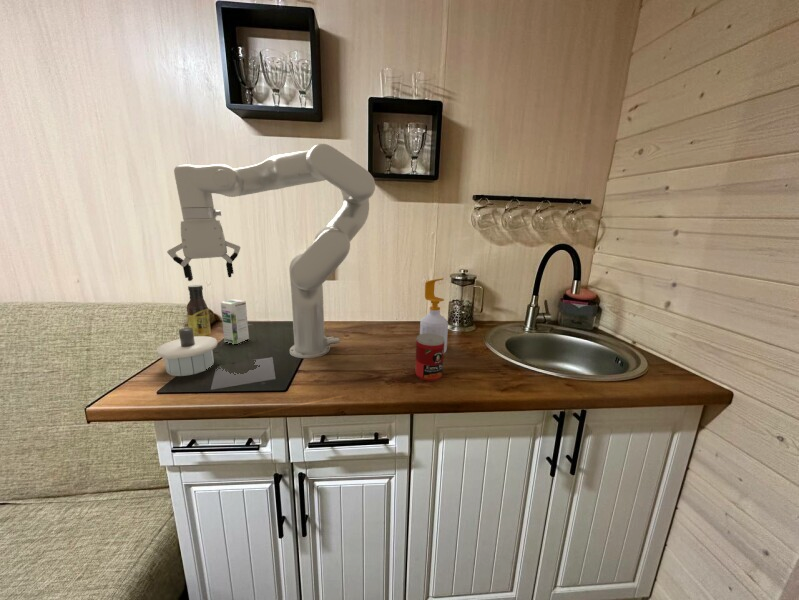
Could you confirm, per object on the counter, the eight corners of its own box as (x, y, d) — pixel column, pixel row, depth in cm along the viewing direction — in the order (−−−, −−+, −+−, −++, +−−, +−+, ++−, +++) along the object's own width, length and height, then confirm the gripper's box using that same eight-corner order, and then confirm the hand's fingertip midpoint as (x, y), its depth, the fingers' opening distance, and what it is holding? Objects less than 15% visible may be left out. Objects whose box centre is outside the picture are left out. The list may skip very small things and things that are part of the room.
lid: (219, 336, 98) (217, 319, 96) (214, 353, 85) (212, 334, 84) (164, 343, 92) (161, 325, 91) (150, 362, 80) (147, 341, 78)
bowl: (215, 357, 97) (213, 339, 96) (211, 372, 88) (208, 352, 86) (172, 363, 93) (169, 344, 91) (163, 379, 83) (159, 358, 82)
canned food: (424, 384, 84) (426, 345, 81) (409, 371, 91) (411, 335, 88) (448, 378, 87) (450, 340, 85) (432, 366, 94) (434, 331, 92)
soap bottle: (433, 358, 100) (437, 281, 94) (413, 349, 107) (416, 277, 101) (452, 351, 106) (456, 278, 100) (432, 343, 113) (435, 274, 107)
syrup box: (223, 342, 109) (219, 302, 106) (238, 337, 114) (234, 298, 111) (236, 345, 107) (231, 303, 103) (250, 339, 112) (246, 300, 109)
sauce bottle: (202, 347, 105) (194, 288, 100) (186, 345, 106) (177, 287, 102) (216, 340, 111) (210, 284, 107) (201, 338, 112) (194, 283, 108)
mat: (272, 358, 98) (272, 357, 97) (275, 380, 84) (275, 378, 84) (216, 366, 92) (216, 365, 91) (210, 391, 78) (210, 389, 78)
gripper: (235, 214, 92) (244, 273, 96) (163, 216, 85) (176, 279, 89) (234, 214, 85) (244, 277, 89) (156, 216, 78) (171, 284, 82)
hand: (210, 278), depth 89 cm, fingers open, 9 cm apart
